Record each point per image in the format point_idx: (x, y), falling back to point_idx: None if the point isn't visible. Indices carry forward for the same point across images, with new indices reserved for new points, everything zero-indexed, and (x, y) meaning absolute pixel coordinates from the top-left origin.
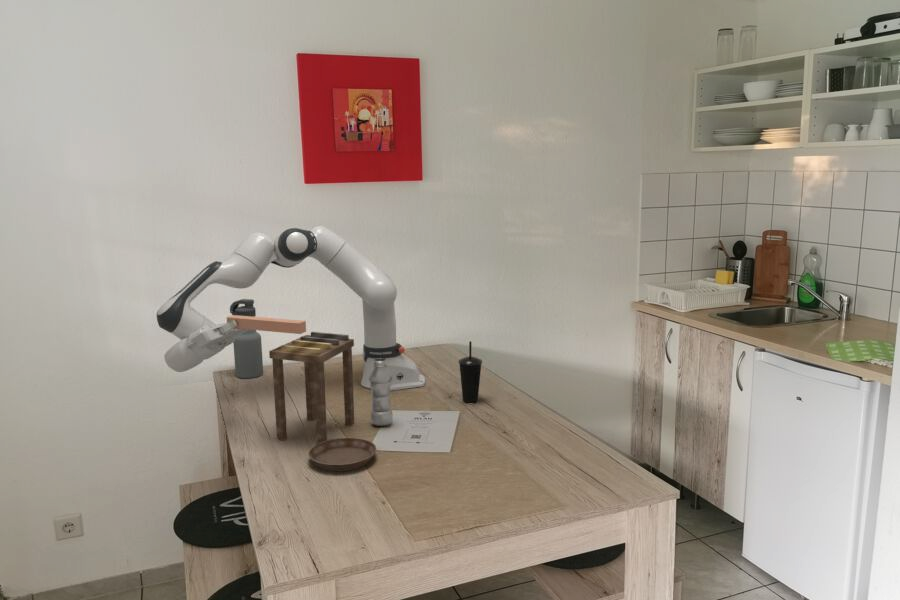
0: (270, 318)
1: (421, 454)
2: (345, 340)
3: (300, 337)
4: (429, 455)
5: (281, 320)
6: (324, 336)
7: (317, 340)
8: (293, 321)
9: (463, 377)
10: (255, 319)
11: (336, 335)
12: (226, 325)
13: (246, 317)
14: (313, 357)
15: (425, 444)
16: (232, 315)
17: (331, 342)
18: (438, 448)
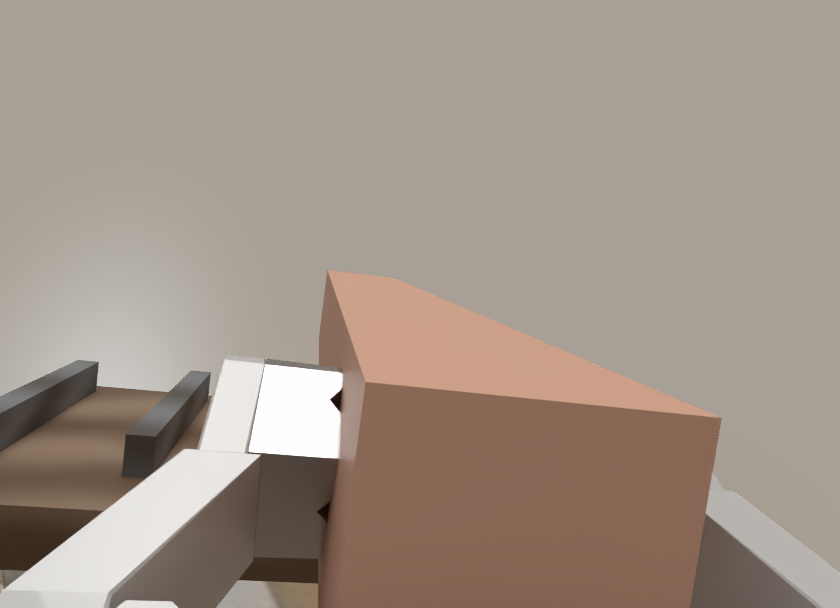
0: (349, 286)
1: (292, 599)
2: (92, 391)
3: (156, 439)
4: (292, 588)
5: (376, 282)
6: (36, 413)
7: (186, 412)
8: (367, 277)
9: None
10: (454, 308)
11: (74, 378)
12: (782, 564)
13: (428, 320)
14: None
15: (222, 605)
16: (427, 384)
17: (202, 394)
18: (242, 582)
